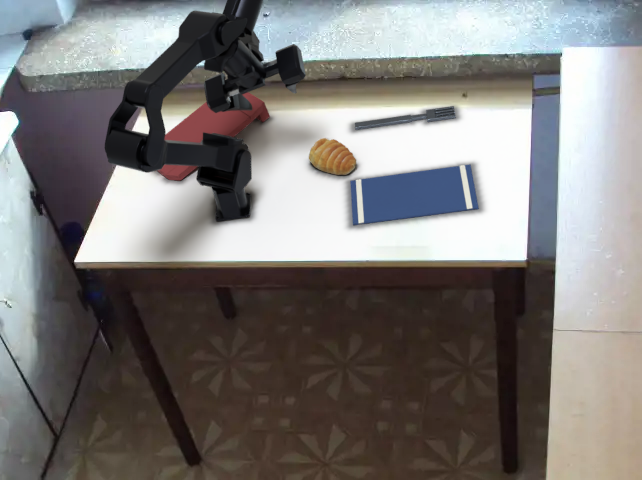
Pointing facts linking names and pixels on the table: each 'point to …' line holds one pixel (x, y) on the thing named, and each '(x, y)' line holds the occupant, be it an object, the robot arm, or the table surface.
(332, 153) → the pastry
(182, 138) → the red angular block
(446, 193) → the napkin
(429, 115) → the fork
